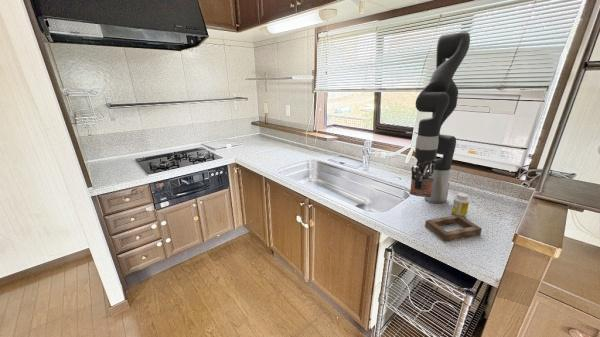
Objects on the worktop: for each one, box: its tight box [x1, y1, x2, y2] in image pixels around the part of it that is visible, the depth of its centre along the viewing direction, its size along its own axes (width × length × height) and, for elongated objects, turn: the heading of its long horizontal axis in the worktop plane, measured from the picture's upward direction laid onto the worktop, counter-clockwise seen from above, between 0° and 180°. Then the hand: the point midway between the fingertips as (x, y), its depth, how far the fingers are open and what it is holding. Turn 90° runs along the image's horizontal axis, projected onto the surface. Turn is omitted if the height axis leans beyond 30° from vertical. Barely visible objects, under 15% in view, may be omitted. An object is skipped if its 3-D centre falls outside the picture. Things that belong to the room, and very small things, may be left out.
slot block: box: [424, 214, 483, 243], centre depth 98 cm, size 16×11×3 cm
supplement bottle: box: [451, 192, 470, 218], centre depth 107 cm, size 6×6×10 cm
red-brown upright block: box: [409, 172, 434, 198], centre depth 98 cm, size 8×3×10 cm, turn 64°
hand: (421, 186), depth 99 cm, fingers closed on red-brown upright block, 4 cm apart
